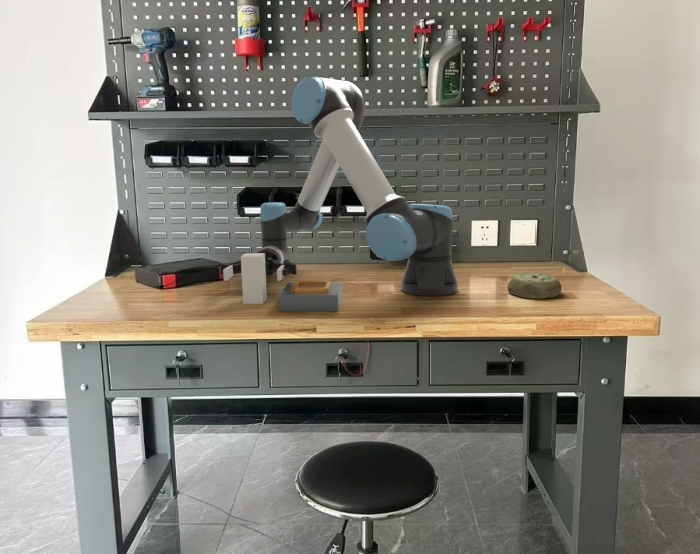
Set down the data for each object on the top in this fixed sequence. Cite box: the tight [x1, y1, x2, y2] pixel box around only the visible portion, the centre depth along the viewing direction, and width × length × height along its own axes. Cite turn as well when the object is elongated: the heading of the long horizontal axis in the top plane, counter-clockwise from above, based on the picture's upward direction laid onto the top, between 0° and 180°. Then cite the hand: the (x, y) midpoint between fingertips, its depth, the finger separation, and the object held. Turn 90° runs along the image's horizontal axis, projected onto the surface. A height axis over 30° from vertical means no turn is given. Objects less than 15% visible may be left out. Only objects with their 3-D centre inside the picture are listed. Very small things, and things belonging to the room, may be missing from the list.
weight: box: [507, 272, 562, 300], centre depth 156 cm, size 14×13×5 cm
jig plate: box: [278, 280, 343, 313], centre depth 148 cm, size 14×14×5 cm
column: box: [240, 252, 268, 305], centre depth 151 cm, size 5×5×12 cm
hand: (251, 275), depth 149 cm, fingers open, 13 cm apart
